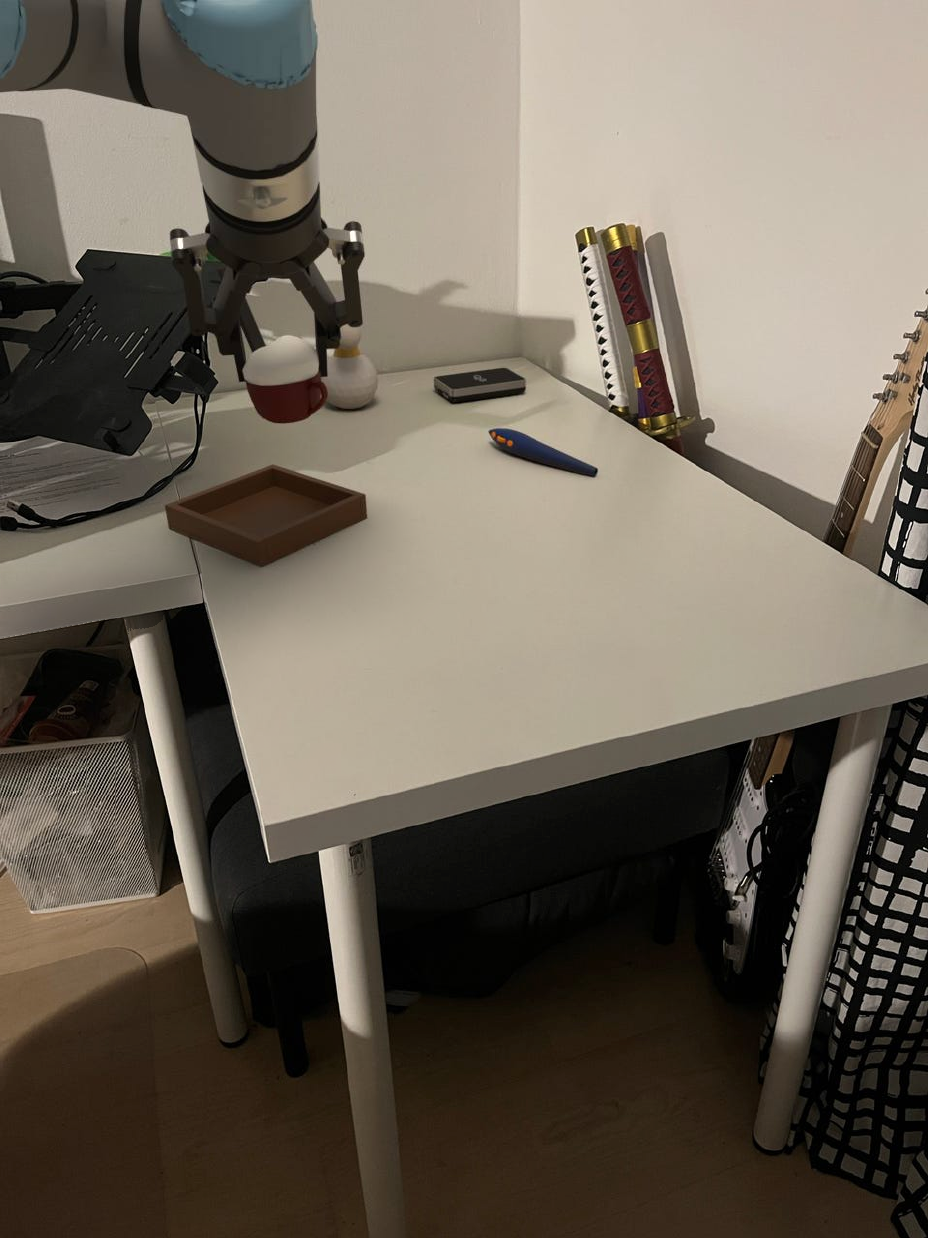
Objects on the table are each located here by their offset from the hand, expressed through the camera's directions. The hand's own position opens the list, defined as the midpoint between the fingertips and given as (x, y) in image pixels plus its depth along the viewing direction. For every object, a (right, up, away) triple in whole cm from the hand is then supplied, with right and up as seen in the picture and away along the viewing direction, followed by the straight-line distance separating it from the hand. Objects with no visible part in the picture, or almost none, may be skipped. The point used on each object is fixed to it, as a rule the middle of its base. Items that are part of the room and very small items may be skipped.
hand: (282, 365), depth 84 cm
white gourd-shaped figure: (+2, +5, +42) cm, 42 cm away
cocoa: (+1, -5, -1) cm, 5 cm away
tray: (-3, -13, +10) cm, 17 cm away
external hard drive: (+18, +8, +47) cm, 51 cm away
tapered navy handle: (+24, -4, +24) cm, 35 cm away
